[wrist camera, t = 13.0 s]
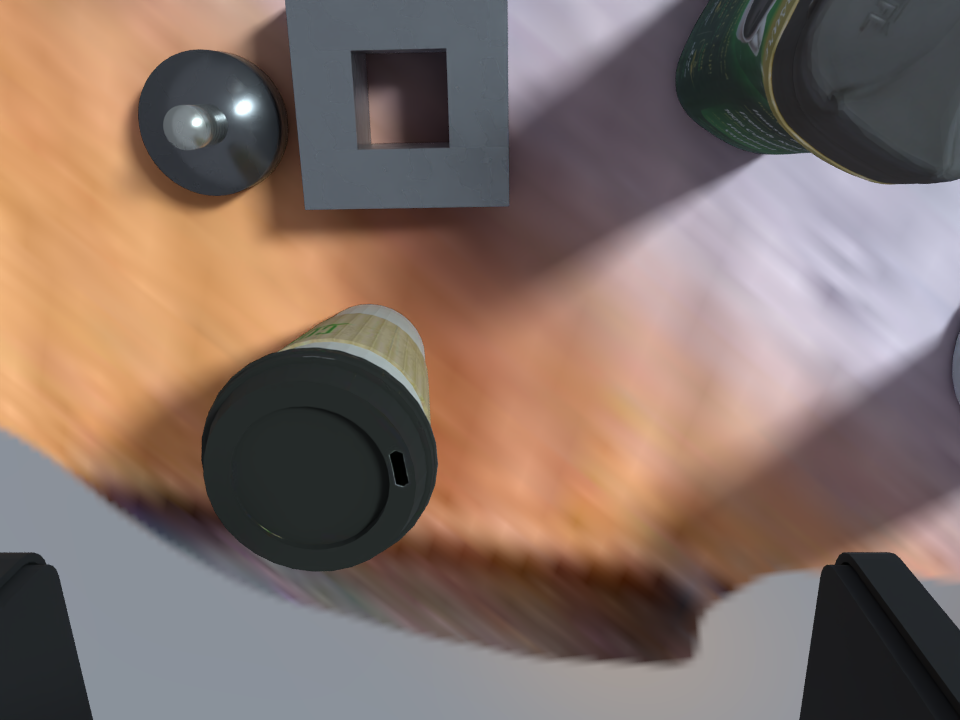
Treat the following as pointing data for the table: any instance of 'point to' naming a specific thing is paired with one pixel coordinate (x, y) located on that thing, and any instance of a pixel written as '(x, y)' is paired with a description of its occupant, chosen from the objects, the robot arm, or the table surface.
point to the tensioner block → (345, 107)
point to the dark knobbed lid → (212, 122)
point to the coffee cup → (325, 443)
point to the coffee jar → (831, 83)
